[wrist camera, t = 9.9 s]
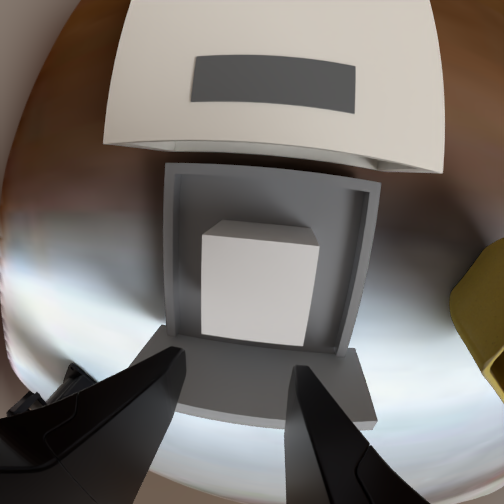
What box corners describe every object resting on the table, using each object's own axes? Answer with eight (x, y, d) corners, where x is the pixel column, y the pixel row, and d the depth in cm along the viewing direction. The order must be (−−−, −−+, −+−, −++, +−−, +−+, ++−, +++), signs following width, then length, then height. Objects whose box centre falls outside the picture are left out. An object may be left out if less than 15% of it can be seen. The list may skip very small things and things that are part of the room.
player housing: (189, 0, 13) (152, -53, 6) (383, 13, 12) (417, -40, 5) (167, 151, 17) (101, 143, 10) (385, 172, 15) (443, 173, 9)
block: (311, 228, 15) (319, 246, 11) (299, 308, 17) (302, 346, 13) (222, 219, 16) (202, 234, 12) (219, 299, 17) (201, 333, 13)
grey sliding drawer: (159, 163, 16) (89, 162, 9) (389, 184, 15) (452, 195, 8) (162, 333, 19) (118, 394, 13) (352, 357, 18) (372, 429, 11)
